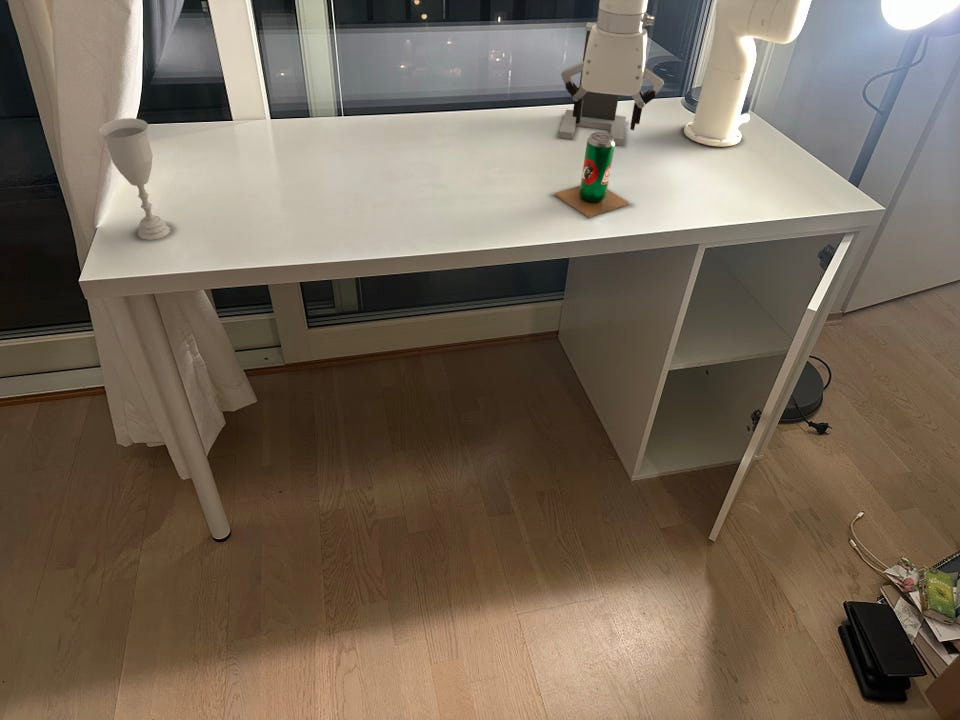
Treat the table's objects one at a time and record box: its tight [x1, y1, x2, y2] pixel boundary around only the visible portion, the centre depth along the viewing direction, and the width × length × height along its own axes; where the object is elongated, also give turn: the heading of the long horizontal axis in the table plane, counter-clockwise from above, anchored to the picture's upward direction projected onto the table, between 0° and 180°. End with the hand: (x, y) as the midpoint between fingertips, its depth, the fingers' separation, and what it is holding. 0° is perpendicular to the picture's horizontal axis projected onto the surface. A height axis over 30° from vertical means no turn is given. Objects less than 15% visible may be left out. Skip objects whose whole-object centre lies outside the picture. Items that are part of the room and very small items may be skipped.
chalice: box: [98, 117, 171, 241], centre depth 112 cm, size 7×7×18 cm
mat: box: [554, 185, 630, 218], centre depth 134 cm, size 10×10×1 cm
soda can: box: [579, 131, 616, 203], centre depth 130 cm, size 5×5×12 cm
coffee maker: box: [558, 21, 627, 147], centre depth 153 cm, size 14×14×21 cm
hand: (605, 124), depth 125 cm, fingers open, 9 cm apart
